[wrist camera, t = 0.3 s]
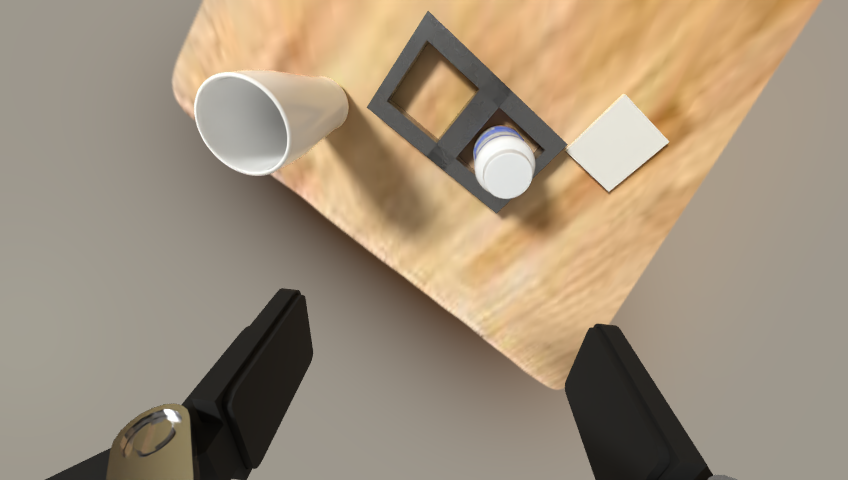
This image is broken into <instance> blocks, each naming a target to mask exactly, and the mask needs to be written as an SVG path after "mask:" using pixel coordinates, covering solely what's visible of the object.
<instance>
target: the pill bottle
mask: <svg viewBox="0 0 848 480" xmlns="http://www.w3.org/2000/svg"><path fill="white" fill-rule="evenodd" d="M473 158H474V166H475V175H476V178H477V181H478V182H479V184H480V185H481V186H482V187H483V188H484V189H485V190H486V191H488V192H490V193H491V194H492V195H494V196H496V197H498V198H502V199H510V198H514V197H517V196H519V195H521V194H522V193H523V192H525V191H526V189H527V188H528V187H529V185H530V183H531V181H532V177H533V174H534V171H535V157H534V154H533V152H532V150H531V148H530V147H529V146H528V144H527V143H526V142H525V141H524V140H523V139H522V137H521V136H520V135H519V134H518V133H517V132H516V131H515V130H514V129H512V128H510V127H508V126H503V125H497V126H492V127H490V128H488V129H486V130H484V131H483V132H482V133H481V134H480V135H479V137H478V138H477V140H476V142H475V145H474V149H473Z"/></svg>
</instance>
